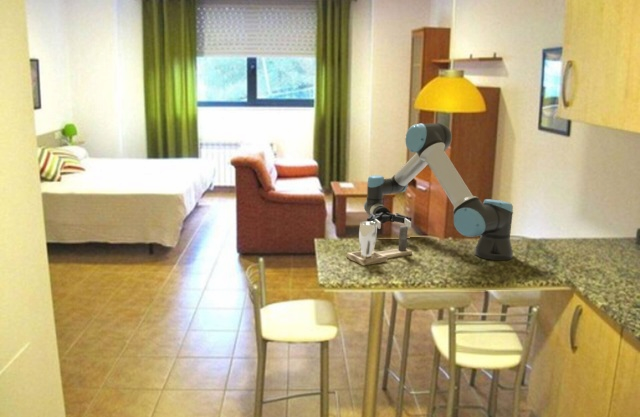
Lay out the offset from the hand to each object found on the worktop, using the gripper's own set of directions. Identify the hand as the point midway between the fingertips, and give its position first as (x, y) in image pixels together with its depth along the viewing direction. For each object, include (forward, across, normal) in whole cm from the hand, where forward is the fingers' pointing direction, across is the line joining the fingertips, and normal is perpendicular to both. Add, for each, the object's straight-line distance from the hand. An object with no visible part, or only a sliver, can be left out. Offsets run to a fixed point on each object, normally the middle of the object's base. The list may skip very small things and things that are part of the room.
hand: (395, 225), depth 254 cm
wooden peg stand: (+14, +10, -9) cm, 20 cm away
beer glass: (+16, +17, -10) cm, 25 cm away
